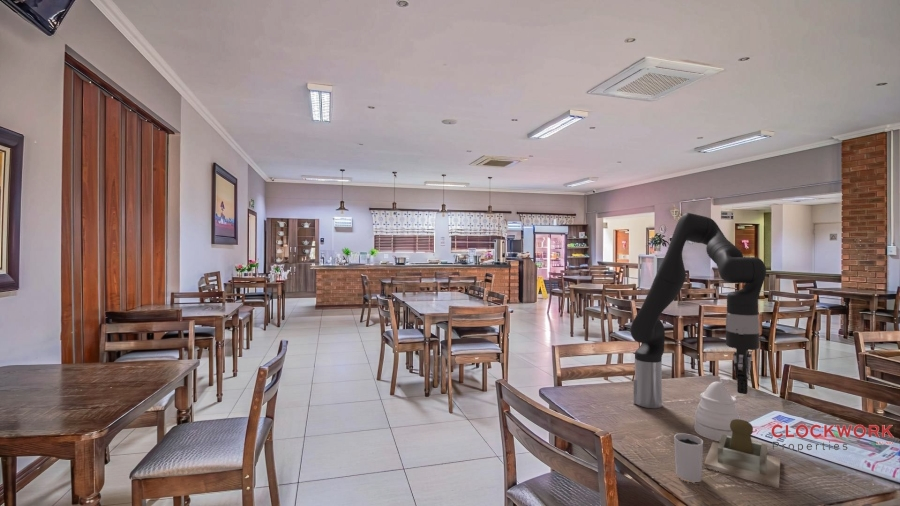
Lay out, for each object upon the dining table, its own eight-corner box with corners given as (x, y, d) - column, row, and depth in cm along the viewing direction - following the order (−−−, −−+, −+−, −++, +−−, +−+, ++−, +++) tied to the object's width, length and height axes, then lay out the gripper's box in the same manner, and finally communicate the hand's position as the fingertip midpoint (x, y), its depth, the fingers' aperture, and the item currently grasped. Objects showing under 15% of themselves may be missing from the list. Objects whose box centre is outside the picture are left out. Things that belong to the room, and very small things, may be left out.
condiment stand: (704, 467, 114) (704, 448, 114) (712, 445, 126) (712, 428, 126) (778, 488, 104) (778, 467, 103) (780, 462, 116) (780, 443, 116)
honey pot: (734, 427, 139) (734, 373, 138) (748, 445, 126) (748, 385, 126) (690, 422, 143) (690, 370, 143) (699, 439, 131) (699, 381, 130)
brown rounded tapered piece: (759, 467, 111) (759, 426, 111) (734, 465, 112) (734, 424, 112) (748, 456, 117) (748, 417, 117) (724, 454, 118) (724, 415, 118)
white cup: (668, 471, 112) (668, 434, 112) (692, 469, 113) (692, 432, 113) (684, 485, 105) (684, 445, 105) (709, 483, 106) (709, 444, 106)
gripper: (728, 325, 122) (728, 384, 122) (723, 332, 112) (723, 396, 112) (760, 327, 117) (760, 389, 117) (757, 335, 107) (758, 403, 107)
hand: (742, 392), depth 115 cm, fingers closed
